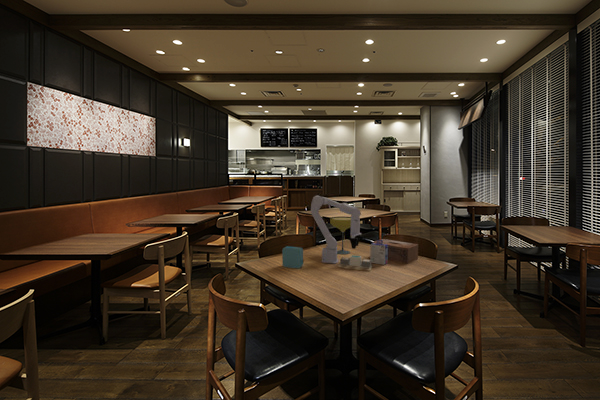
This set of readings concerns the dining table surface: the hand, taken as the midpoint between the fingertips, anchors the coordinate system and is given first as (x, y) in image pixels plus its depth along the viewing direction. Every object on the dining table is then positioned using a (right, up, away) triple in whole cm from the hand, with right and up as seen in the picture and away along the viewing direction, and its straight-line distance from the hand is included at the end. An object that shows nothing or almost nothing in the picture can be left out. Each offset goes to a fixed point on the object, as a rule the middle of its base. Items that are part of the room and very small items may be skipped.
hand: (355, 247), depth 198 cm
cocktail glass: (-5, -8, +23) cm, 25 cm away
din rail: (-2, -10, -11) cm, 16 cm away
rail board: (-2, -10, -11) cm, 16 cm away
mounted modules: (-2, -9, -12) cm, 15 cm away
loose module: (-2, -9, -12) cm, 15 cm away
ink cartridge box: (+15, -10, -3) cm, 18 cm away
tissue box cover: (+29, -9, +10) cm, 31 cm away
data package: (-40, -11, -10) cm, 43 cm away
